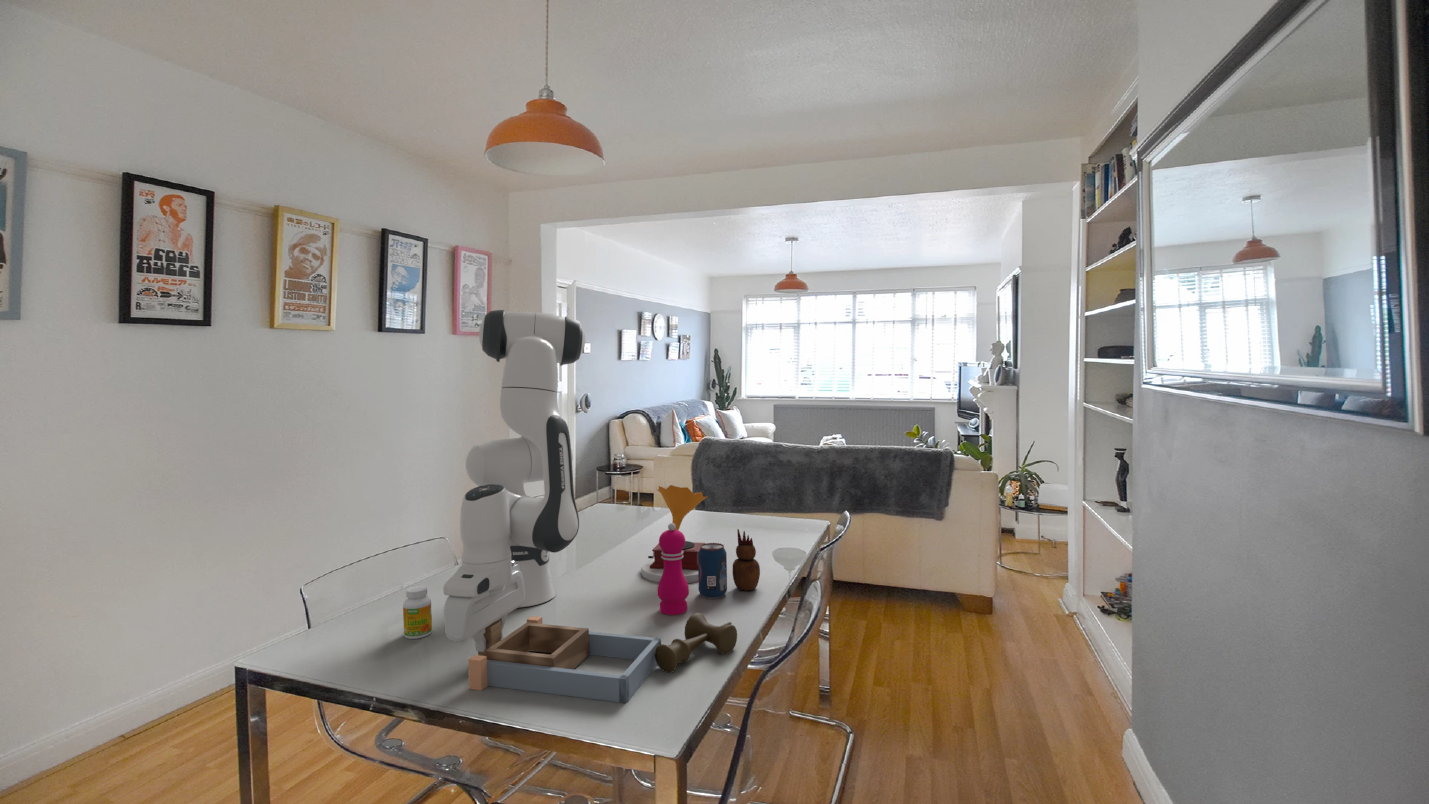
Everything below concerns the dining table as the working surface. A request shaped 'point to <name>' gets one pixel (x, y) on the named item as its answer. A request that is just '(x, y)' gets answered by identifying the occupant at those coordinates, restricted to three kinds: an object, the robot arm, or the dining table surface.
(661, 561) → the gramophone
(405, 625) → the supplement bottle
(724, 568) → the soda can
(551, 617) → the dining table surface
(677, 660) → the kendama
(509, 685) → the frame
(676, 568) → the pepper mill
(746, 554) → the wooden figurine
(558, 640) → the wooden square frame
